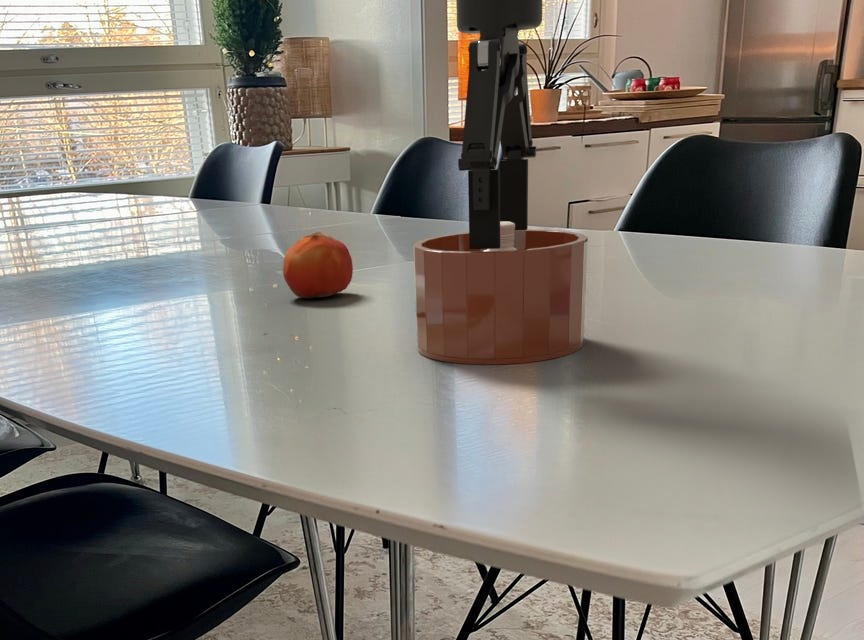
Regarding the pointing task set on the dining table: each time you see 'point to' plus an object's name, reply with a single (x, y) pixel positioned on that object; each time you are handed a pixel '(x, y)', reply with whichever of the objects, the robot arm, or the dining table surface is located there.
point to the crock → (501, 298)
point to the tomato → (317, 266)
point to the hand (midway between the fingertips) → (500, 239)
